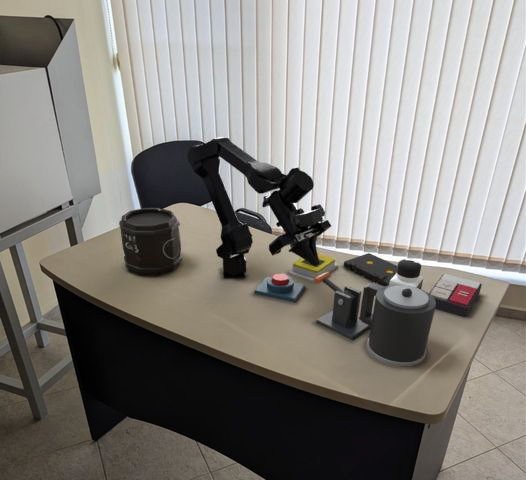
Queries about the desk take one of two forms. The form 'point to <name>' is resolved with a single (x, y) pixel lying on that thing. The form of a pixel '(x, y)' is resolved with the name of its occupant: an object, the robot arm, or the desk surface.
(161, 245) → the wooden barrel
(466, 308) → the grey red panel box
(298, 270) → the emergency button
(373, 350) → the kettle
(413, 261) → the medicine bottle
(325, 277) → the switch lever
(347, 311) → the switch base
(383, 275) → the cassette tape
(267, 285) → the blue button base
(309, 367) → the desk surface
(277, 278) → the power button
